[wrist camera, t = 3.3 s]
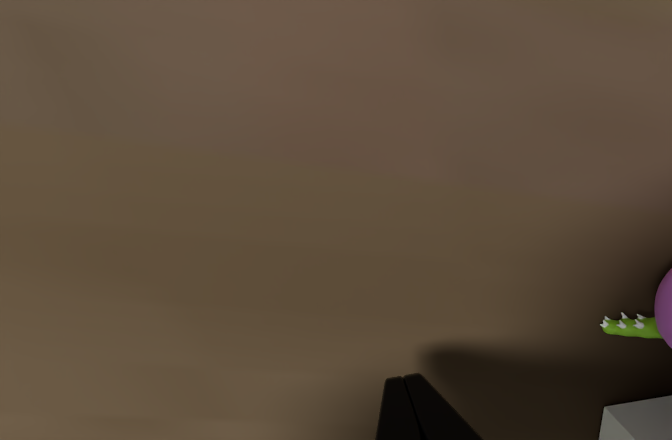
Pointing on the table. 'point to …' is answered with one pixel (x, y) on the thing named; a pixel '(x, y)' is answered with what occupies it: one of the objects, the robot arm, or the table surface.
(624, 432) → the slab
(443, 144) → the table surface
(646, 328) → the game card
